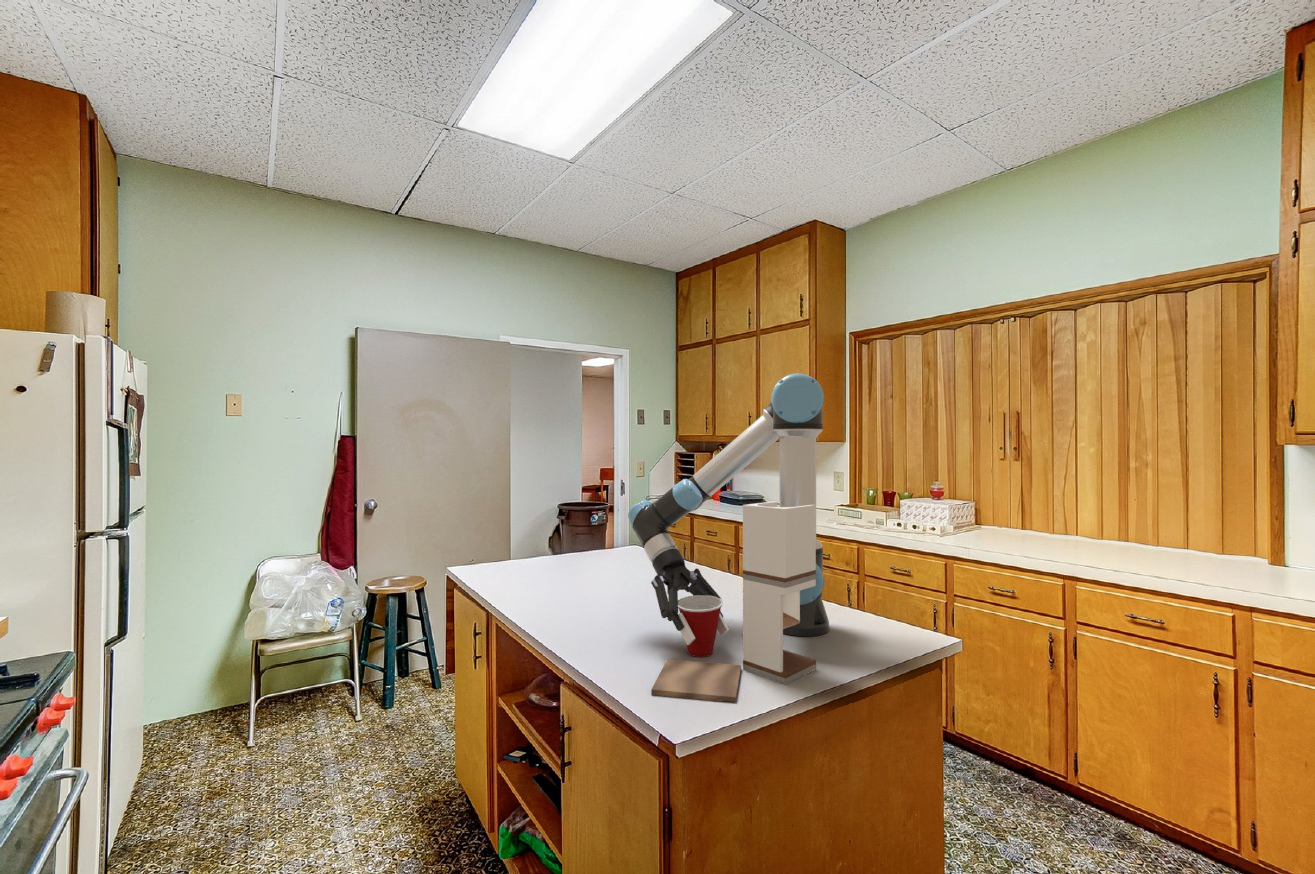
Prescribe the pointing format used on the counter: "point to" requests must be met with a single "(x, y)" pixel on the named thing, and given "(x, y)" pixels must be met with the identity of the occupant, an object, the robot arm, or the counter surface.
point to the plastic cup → (701, 622)
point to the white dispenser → (776, 585)
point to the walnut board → (698, 680)
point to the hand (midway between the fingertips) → (708, 637)
